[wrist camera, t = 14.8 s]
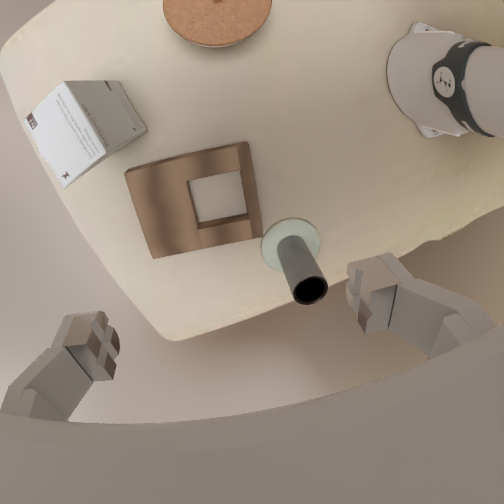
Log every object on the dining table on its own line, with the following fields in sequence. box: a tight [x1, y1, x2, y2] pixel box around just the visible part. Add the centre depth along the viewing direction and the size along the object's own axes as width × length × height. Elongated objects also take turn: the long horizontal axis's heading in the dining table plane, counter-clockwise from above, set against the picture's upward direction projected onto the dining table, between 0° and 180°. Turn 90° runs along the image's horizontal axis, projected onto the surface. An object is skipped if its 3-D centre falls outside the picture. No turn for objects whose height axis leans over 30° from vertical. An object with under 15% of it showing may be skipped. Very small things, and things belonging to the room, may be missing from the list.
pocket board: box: [124, 142, 263, 259], centre depth 39 cm, size 16×13×2 cm
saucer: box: [261, 218, 320, 272], centre depth 45 cm, size 9×9×1 cm
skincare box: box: [23, 81, 147, 189], centre depth 26 cm, size 8×6×15 cm
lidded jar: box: [163, 0, 272, 48], centre depth 23 cm, size 11×11×9 cm
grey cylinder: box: [277, 235, 328, 305], centre depth 40 cm, size 4×4×10 cm
